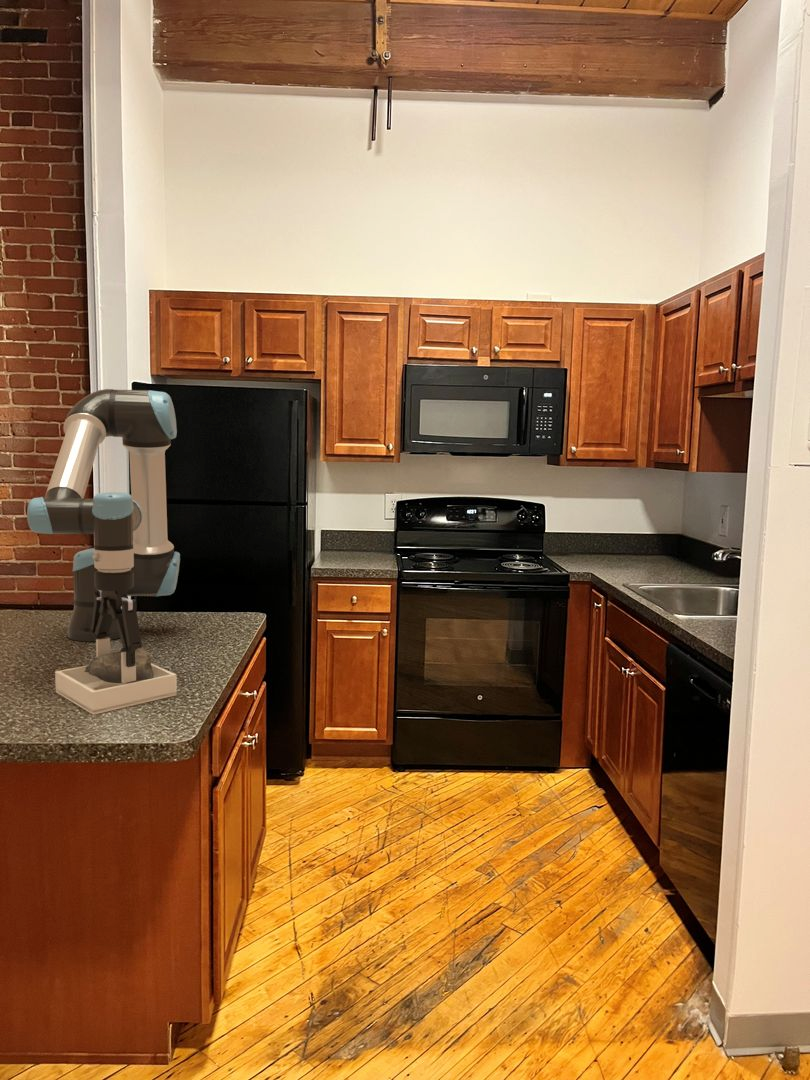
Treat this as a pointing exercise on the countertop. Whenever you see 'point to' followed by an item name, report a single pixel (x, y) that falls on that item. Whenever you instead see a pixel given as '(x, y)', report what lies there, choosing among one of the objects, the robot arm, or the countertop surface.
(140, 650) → the rock
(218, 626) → the countertop surface
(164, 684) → the dish
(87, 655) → the countertop surface
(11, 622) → the countertop surface
